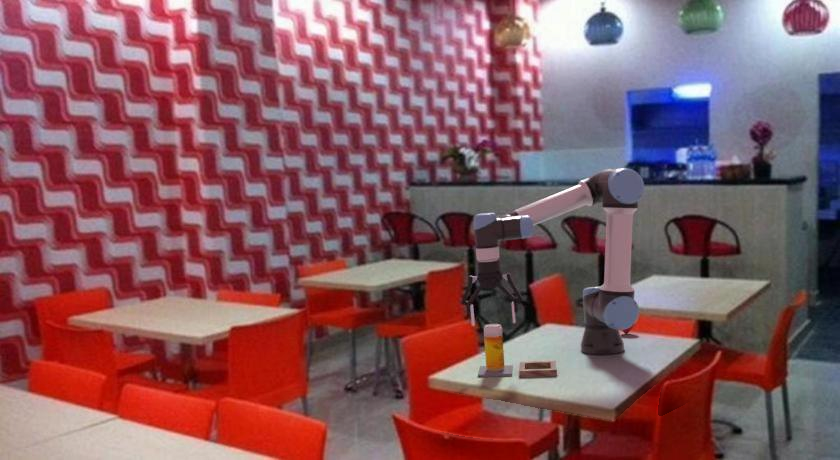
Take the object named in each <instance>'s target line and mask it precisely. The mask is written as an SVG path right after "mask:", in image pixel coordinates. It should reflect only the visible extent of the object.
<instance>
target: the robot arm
mask: <svg viewBox="0 0 840 460" xmlns="http://www.w3.org/2000/svg"><path fill="white" fill-rule="evenodd" d="M644 192H645V183H644V180H643V178H642V176H641V175H640V174H639V172H637V171H635V170H633V169H631V168H626V167H618V168H606V169H604V170H601V171H599V172H597V173H595V174H592V175H590V176H588V177H586V178H584V179H582V180H579V182H578V184H577V185H573V186H572V187H569V188H567V189H565V190H562V191H560V192H557V193H554V194H552V195H549V196H547V197H545V198H541V199H539V200H537V201H534V202H532V203H530V204H526V205H524V206H522V207H520V208H517V209H515V210H512V211H510V212H507V213H502V214H498V215H496V213H495V212H487V213H484V212H483V213H477V214H475V215H474V216H473V232H474V233H473V234H474V243H475V254H476V260H477V262H476V267H477V276H475V275H474V276H473V275H469V277H468V284H467V287H466V289H465V292H464V294H463V297H462V298H461V301H460V304H461V305H463V306H465V307H466V311H467V316H470V319H471V322H470V323H471V327H474V326H475V324H476V323H475V313H474V310H475V309H474V304H473V302H474V301H475V299H476V298H477V296H479V293H481V291H482V289H483V288H484V289H485V290H487V289H497V288H498V289H500V291H502V293H504V294H505V295H506V296H507V298H509V300H511V301H512V302H511V313H512V314H511V316H512V324H516V313H518V312H519V305H518V303H519V302H521V301H523V296H522V294H521V292H520V291H519V290H518V287H517V285H516V283H514V281H513V279H512V276H511V273H510V272H507V273H505V274H502V269H501V262H500V260H499V259H500V247H499V242H500V241H511V240H512V241H513V240H519V239H521V240H524V239H528V238H532V236H533V234H534V226H536V225H538V224H541V223H544V222H547V221H550V220H552V219H555V218H557V217H559V216H561V215H563V214H564V215H565V214H566V213H569V212H571V211H575V210H577V209H580V208H582V207H585V206H587V207H591V206H595V205H597V204H602V207H601V208H602V210H604V211H605V213H606V223H605V224H606V225H605V246H604V247H605V248H604V255H605V256H604V275H603V276H604V277H603V278H604V279H603V284H602V285H600V286H591V287H585V288H584V289H583V290H582V296H581V297H582V307H583V308H582V309H583V320H584V331H583V333H582V334H583V335H582V338H581V342H580V351H581V352H582V353H584V354H588V355H599V356H600V355H601V356H603V355H615V354H618V353H622V352H624V351H625V343H624V341H623V338H622V335H621V332H620V331H622V330H625V329H628V328H630V327H631V326H632V325H633V324H636V322H637V321H638V318H639V316H640V307H639V305H638V303H637V301H636V300H635V288H634V287H633V286H632V285H631V270H632V269H631V268H632V266H631V265H632V246H633V245H632V243H633V242H632V241H633V222H634V221H633V219H634V218H633V217H634V214H635V212H636V211H637V210H638V209H639V208H638V207H639V201H640V199H641V198H642V196H643V195H644ZM503 279H504V280H505V281H507V282H508V284H509V286H510V287H511V289H512V291H513V293H514V294H515V295H513V294H512V292H510V290H508V289H507V288H506V287H505V286H504V284H503V283H502V281H503ZM476 281H477V282H478V283H479V286H478V287H477V288H476V289H475V291H474V292H473V294H472V295H471V297H470V298H469V299H468V300H467V298H468V297H469V293H470V291H471V288H472V286H473V284H474V283H476ZM515 296H516V297H515Z"/></svg>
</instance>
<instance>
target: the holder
mask: <svg viewBox="0 0 840 460" xmlns="http://www.w3.org/2000/svg"><path fill="white" fill-rule="evenodd" d="M518 365H519V368H518V373H519V374H518V375H519V376H518V377H519V378H533V377H534V378H535V377H536V378H537V377H540V378H541V377H557V376H558V370H557V361H556V360H536V361H535V360H534V361H531V360H530V361H519V364H518Z"/></svg>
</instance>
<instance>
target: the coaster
mask: <svg viewBox="0 0 840 460" xmlns="http://www.w3.org/2000/svg"><path fill="white" fill-rule="evenodd" d="M504 366H505V367H504V369H503V370H502V371H498V372H491V371H488V369H487V368H486V365H481V366H479V368H478V369H479V370H478V372H477V377H478V378H480V377H479V376H482V377H481V378H491V377H492V376H494V377H492V378H495V376H497V377H498V376H500V377H512V376H513V365H512V364H509V365H508V364H507V365H506V364H504ZM486 376H487V377H486Z"/></svg>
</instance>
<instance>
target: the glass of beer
mask: <svg viewBox="0 0 840 460" xmlns="http://www.w3.org/2000/svg"><path fill="white" fill-rule="evenodd" d="M483 339H484V354H485V366H486V368H487V369H488V371H491V372H498V371H502V370H503V369H504V367H505V366H504V365H505V353H504V352H505V351H504V337H503V327H502V325H501V324H499V323H489V324H485V325H484V327H483Z"/></svg>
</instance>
